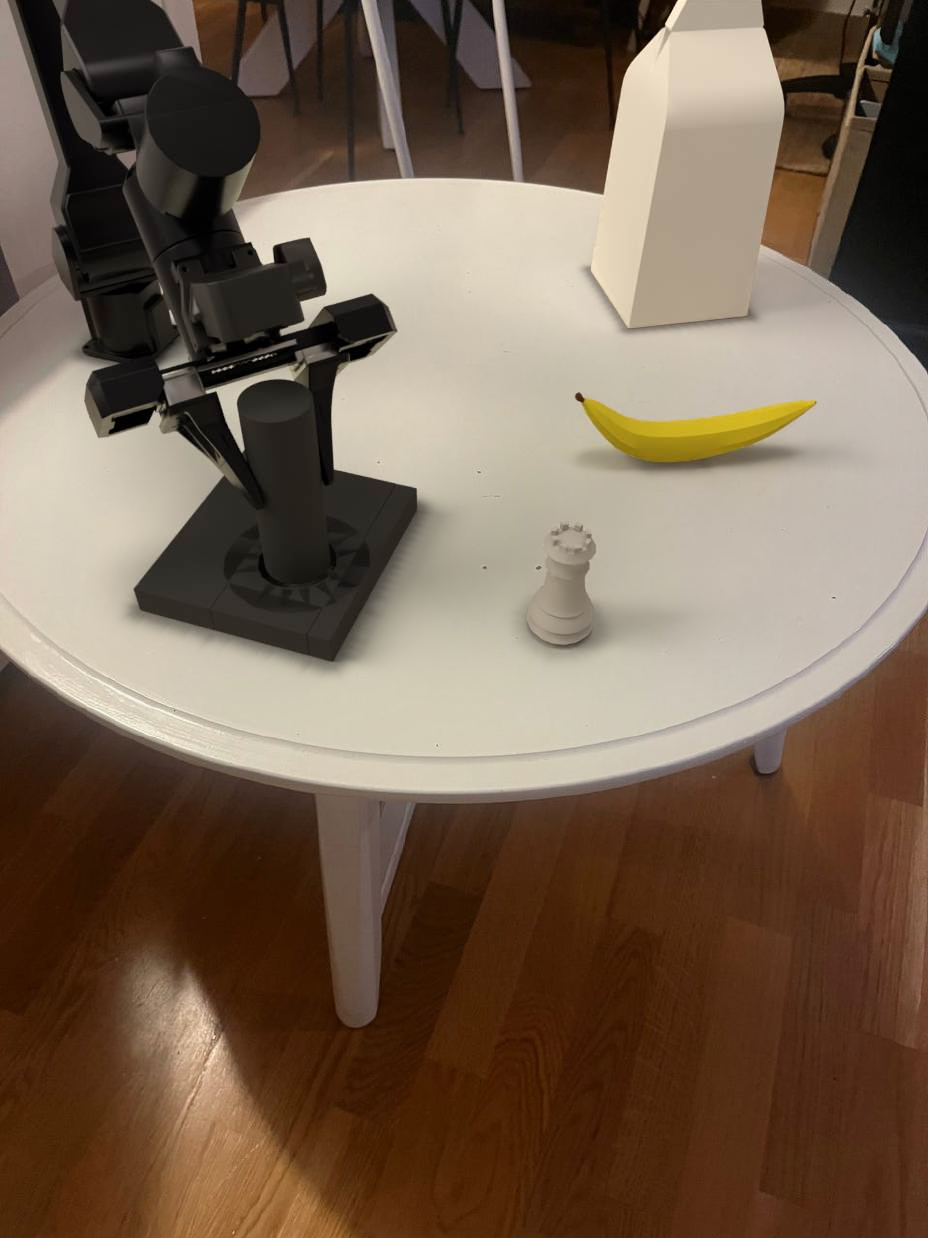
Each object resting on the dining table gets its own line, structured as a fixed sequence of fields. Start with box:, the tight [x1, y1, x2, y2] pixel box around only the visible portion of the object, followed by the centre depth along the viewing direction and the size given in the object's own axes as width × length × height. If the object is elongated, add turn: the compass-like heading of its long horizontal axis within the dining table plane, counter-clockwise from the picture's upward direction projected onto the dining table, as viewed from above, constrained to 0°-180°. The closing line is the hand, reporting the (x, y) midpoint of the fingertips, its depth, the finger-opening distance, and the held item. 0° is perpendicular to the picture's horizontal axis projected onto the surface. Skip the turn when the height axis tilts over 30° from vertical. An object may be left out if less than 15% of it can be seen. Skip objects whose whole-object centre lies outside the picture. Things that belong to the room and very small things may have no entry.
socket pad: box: [133, 449, 418, 662], centre depth 68 cm, size 14×16×2 cm
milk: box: [590, 0, 785, 329], centre depth 87 cm, size 12×12×26 cm
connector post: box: [236, 378, 331, 585], centre depth 61 cm, size 4×4×13 cm
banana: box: [574, 391, 817, 463], centre depth 76 cm, size 3×19×6 cm, turn 95°
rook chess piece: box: [526, 520, 597, 646], centre depth 62 cm, size 4×4×8 cm
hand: (295, 496), depth 61 cm, fingers closed on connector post, 4 cm apart
